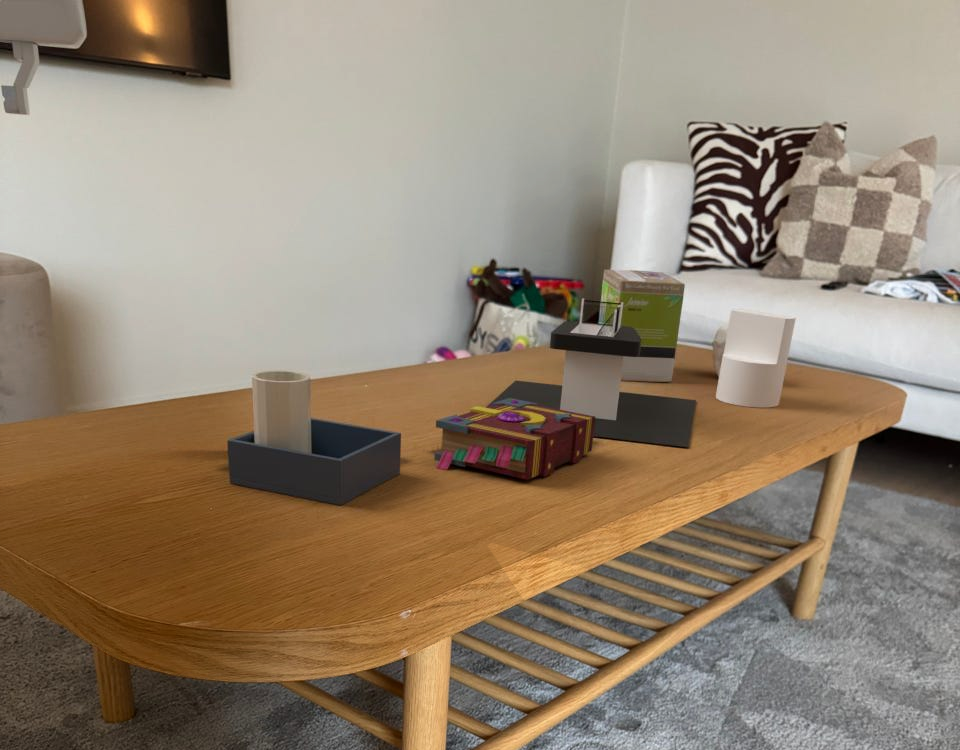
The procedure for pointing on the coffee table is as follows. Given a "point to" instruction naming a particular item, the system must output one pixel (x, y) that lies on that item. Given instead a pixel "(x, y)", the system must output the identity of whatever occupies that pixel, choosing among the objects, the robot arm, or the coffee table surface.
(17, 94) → the robot arm
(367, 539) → the coffee table surface
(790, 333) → the base with upright slab
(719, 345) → the penguin figurine
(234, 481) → the slate bin
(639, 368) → the tea box
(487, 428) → the decorative book
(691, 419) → the black-topped pedestal
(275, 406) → the cream cup
